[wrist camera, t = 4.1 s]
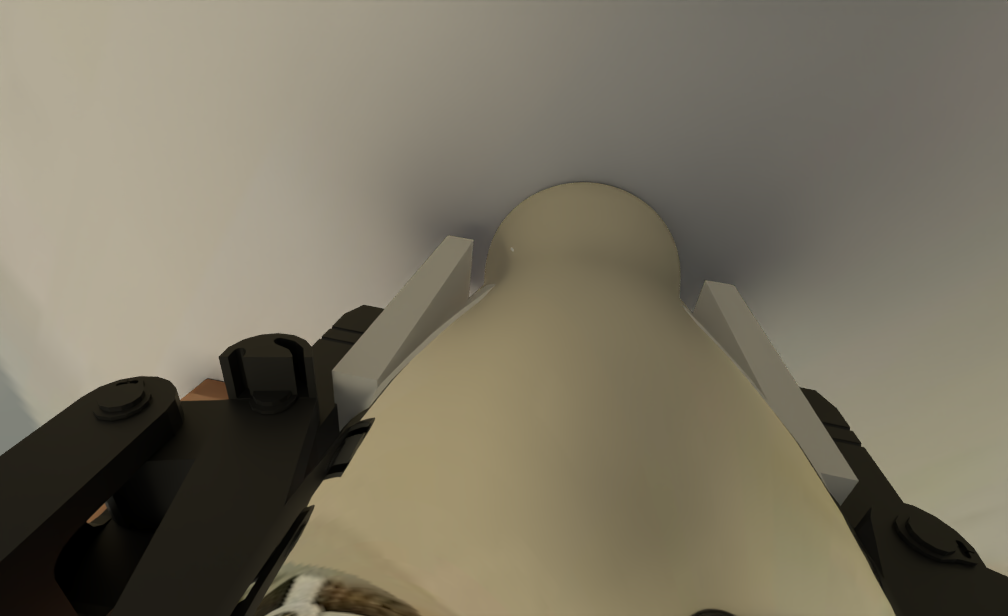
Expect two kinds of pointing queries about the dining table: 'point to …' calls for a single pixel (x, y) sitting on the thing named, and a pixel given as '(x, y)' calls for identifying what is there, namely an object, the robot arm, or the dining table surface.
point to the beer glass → (565, 457)
